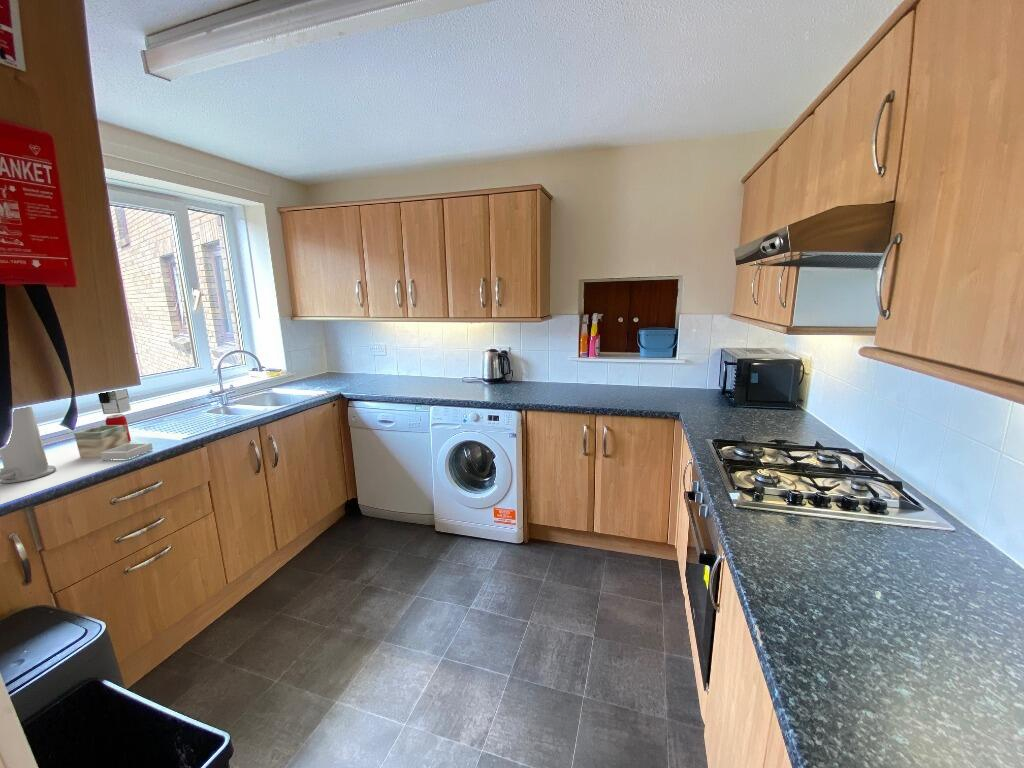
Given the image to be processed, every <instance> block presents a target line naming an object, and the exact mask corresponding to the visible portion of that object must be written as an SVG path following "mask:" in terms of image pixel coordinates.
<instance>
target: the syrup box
mask: <svg viewBox="0 0 1024 768" xmlns="http://www.w3.org/2000/svg"><path fill="white" fill-rule="evenodd" d="M127 392H128V389H127V390H126V389H123V390H117V391H112V392H108V395H109V400H110V403H100V405H101V408H102V414H103V415H116V414H123V413H126V412H129V411H131V409H132V408H131V404H130V400H129V398H128V396H129V394H128V395H127Z"/></svg>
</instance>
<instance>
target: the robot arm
mask: <svg viewBox="0 0 1024 768" xmlns="http://www.w3.org/2000/svg"><path fill="white" fill-rule="evenodd" d="M126 390H127V395H128V399H129V393H128V388H127V389H126ZM97 394H98V393H97ZM97 397H98V400H99V403H100V404H101V403H110V400H109V395H108V392H106V393H100V394H98V396H97ZM42 441H43V440H42V438H41V434H40V430H39V426H38V423H37V420H36V417H35V414H34V411H33V407H32V406H31V407H26V408H20V409H15V410H14V412H13V430H12V434H11V438H10V441H9V443H8V445H7V446H6V447H5V448H3V449H1V450H0V459H1V462H2V466H3V467H2V468H0V483H1V484H14V483H22V482H27V481H30V480H34V479H39V478H42V477H44V476H47V475H50V474H52V473H55V471H56V470H57V467H56V466H55V465H52V464H51V465H49V463H48V460H47V455H46V452H45V449H44V446H43V445H44V444H43V442H42Z"/></svg>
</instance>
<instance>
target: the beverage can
mask: <svg viewBox="0 0 1024 768" xmlns="http://www.w3.org/2000/svg"><path fill="white" fill-rule="evenodd" d="M105 425H125V428H126V432H127V436H128V441H129V443H130V442H131V441H132V439H131V435H130V430H129V426H128V422H127V417H125V415H124V414H123V413H117V414H110V415H108V416H106V417H105Z"/></svg>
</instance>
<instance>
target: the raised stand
mask: <svg viewBox="0 0 1024 768" xmlns="http://www.w3.org/2000/svg"><path fill="white" fill-rule="evenodd" d="M73 435H74V438H75V442H76V445H77V450H78V455H79V458H101V454H100V453H101V452H104V451H107V450H110V449H113V448H115V447H118V446H121V445H124V444H127V443H130V442H129V441H128V436H127V432H126V428H125V425H106V424H105V425H103V424H101V425H98V426H93V427H91V428H89V429H85V430H81V431H77V432H74V433H73Z"/></svg>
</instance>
